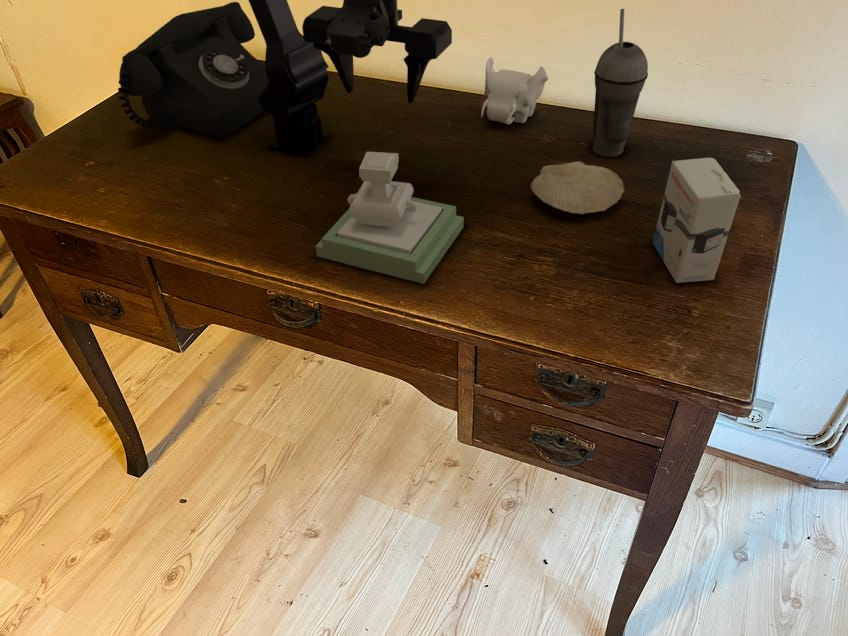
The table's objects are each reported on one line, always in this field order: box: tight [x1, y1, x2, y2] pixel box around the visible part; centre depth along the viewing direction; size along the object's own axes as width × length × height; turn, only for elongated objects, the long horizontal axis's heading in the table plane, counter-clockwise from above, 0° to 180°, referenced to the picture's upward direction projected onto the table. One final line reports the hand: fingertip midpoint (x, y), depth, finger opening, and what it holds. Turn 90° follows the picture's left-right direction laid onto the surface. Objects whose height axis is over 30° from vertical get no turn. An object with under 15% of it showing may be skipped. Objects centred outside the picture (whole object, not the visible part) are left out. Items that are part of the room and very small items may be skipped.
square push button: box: [337, 201, 442, 255], centre depth 93 cm, size 10×10×2 cm
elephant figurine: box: [481, 56, 549, 125], centre depth 115 cm, size 10×12×9 cm
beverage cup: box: [592, 8, 649, 157], centre depth 103 cm, size 7×7×20 cm
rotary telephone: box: [117, 1, 269, 138], centre depth 119 cm, size 30×17×15 cm, turn 148°
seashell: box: [530, 160, 625, 215], centre depth 100 cm, size 12×12×3 cm
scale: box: [314, 196, 465, 285], centre depth 94 cm, size 15×13×3 cm
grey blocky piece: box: [347, 151, 417, 228], centre depth 90 cm, size 9×7×8 cm
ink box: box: [652, 157, 742, 284], centre depth 86 cm, size 8×5×12 cm, turn 5°
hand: (380, 96), depth 99 cm, fingers open, 9 cm apart
